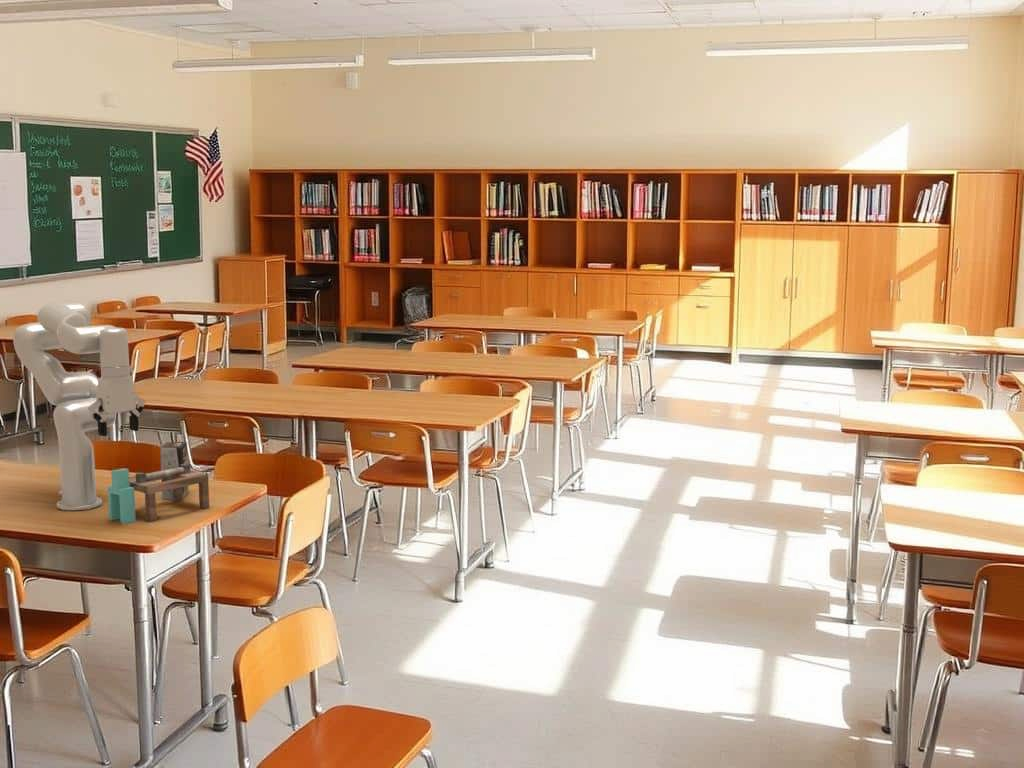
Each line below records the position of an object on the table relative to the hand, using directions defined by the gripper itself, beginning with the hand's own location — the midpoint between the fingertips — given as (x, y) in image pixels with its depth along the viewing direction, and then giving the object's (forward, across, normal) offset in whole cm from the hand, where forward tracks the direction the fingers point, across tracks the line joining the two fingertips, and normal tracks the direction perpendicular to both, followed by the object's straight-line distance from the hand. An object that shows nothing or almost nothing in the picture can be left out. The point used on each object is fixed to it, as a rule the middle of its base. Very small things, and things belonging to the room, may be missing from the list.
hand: (118, 432), depth 318 cm
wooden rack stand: (+25, -14, -1) cm, 29 cm away
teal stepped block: (+25, 0, -1) cm, 25 cm away
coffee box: (+25, -26, -13) cm, 39 cm away
